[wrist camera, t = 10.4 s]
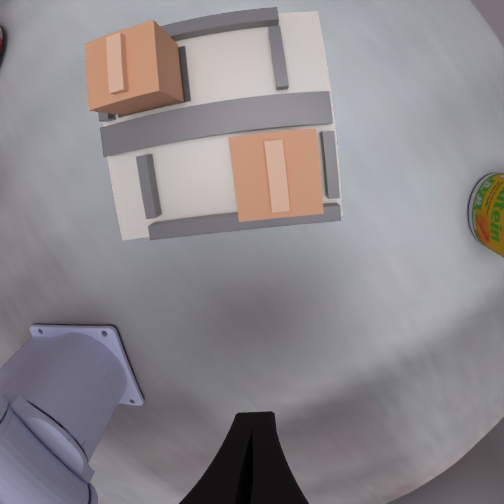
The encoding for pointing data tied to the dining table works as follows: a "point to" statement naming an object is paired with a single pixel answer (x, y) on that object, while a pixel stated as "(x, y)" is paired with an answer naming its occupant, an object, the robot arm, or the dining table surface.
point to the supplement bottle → (488, 212)
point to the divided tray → (222, 124)
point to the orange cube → (276, 174)
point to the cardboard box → (133, 71)
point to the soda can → (0, 39)
